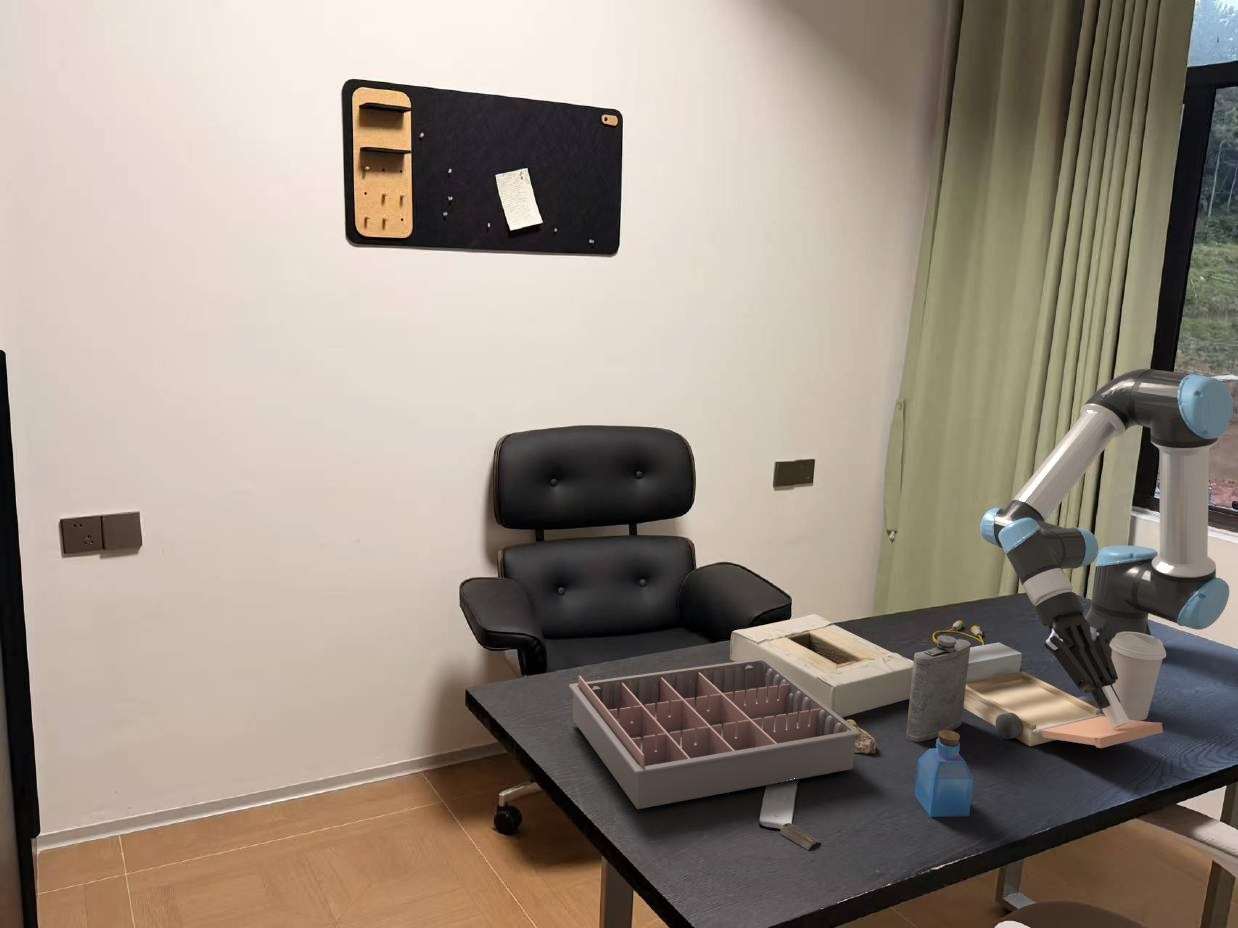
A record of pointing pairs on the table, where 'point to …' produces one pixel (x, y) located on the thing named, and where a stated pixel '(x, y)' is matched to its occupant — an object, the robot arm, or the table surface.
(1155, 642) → the coffee cup
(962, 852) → the table surface
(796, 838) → the block
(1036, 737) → the truck bed
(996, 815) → the table surface
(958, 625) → the extension cord
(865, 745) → the mineral rock
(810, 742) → the organizer tray
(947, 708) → the flask
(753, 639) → the box
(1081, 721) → the tailgate
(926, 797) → the perfume bottle
